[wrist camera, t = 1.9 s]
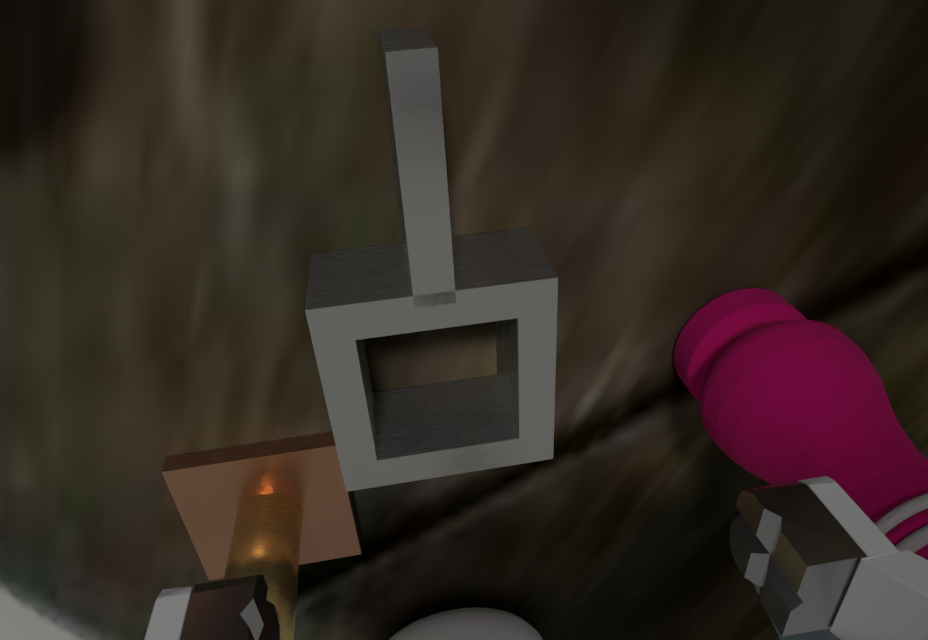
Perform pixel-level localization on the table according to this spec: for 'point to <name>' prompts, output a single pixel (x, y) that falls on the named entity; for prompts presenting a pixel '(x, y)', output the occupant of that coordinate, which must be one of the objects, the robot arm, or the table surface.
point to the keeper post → (266, 512)
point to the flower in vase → (469, 626)
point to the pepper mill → (803, 408)
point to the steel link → (432, 313)
